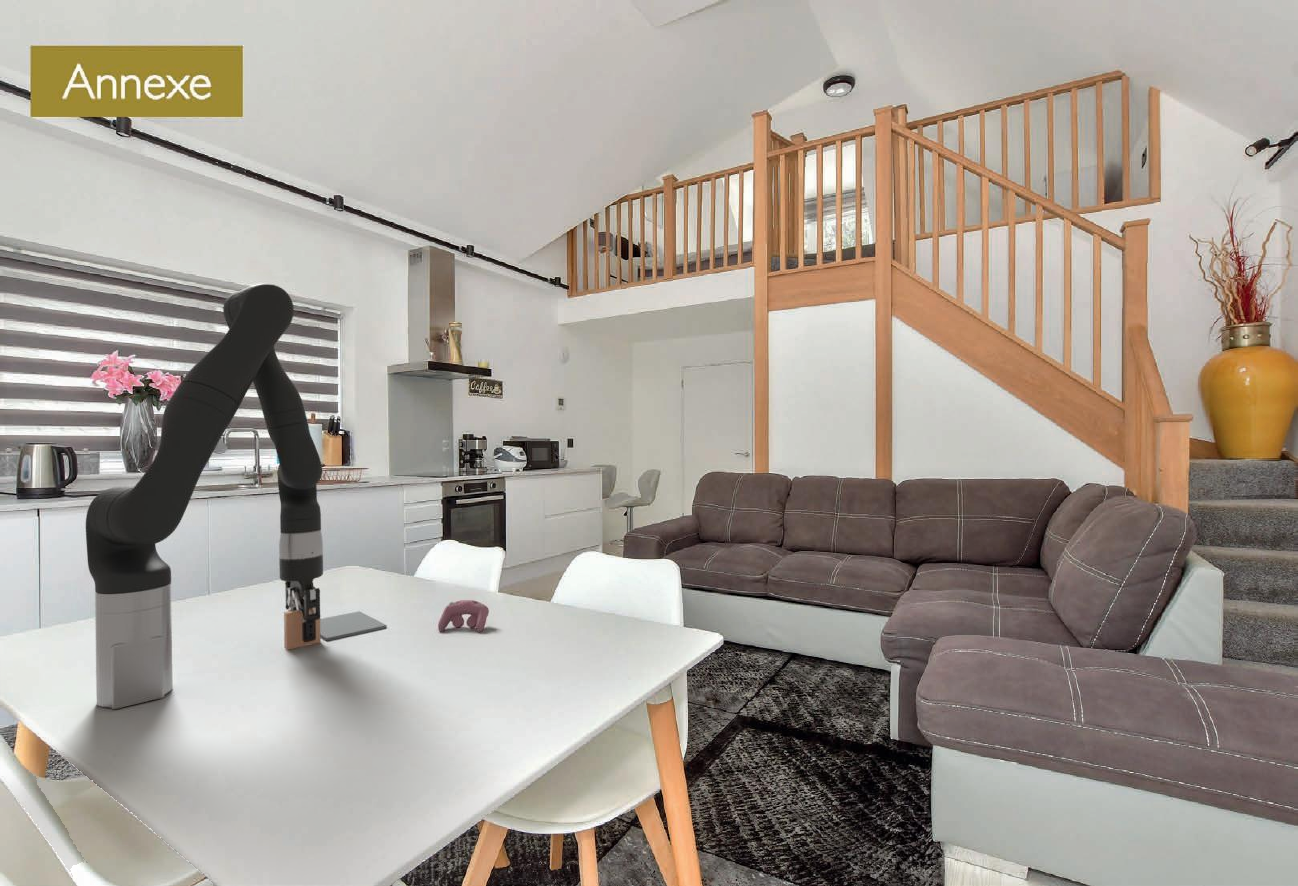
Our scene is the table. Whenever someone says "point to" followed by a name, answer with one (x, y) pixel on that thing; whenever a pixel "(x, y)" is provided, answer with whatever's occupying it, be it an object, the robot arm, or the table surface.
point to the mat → (348, 625)
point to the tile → (297, 630)
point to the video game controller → (460, 608)
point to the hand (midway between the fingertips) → (302, 636)
